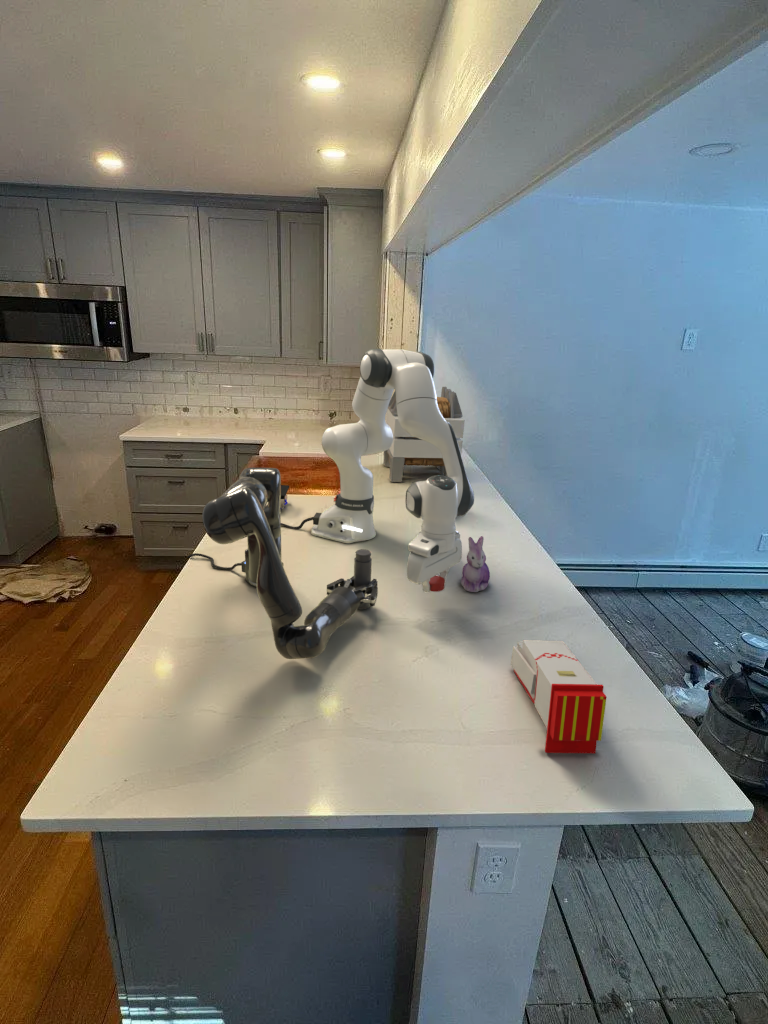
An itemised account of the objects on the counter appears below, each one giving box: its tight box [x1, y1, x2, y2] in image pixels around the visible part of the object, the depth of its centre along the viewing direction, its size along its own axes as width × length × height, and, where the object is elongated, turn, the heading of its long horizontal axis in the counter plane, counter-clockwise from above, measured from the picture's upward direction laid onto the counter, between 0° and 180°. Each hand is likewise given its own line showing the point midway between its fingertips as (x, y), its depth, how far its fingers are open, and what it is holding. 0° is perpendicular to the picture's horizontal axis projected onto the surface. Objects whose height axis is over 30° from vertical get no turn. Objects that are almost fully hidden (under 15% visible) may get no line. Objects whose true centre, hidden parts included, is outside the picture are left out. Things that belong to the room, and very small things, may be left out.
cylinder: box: [353, 548, 373, 610], centre depth 148 cm, size 4×4×16 cm
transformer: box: [383, 386, 465, 483], centre depth 268 cm, size 34×33×41 cm
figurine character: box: [267, 484, 290, 513], centre depth 219 cm, size 7×8×15 cm
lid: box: [429, 575, 446, 593], centre depth 150 cm, size 5×5×2 cm
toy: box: [510, 639, 607, 754], centre depth 114 cm, size 12×13×30 cm
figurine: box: [460, 535, 491, 593], centre depth 162 cm, size 9×10×15 cm
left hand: (366, 580), depth 151 cm, fingers closed on cylinder, 4 cm apart
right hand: (434, 587), depth 151 cm, fingers closed on lid, 5 cm apart
